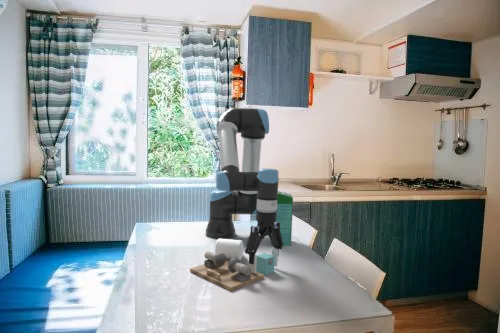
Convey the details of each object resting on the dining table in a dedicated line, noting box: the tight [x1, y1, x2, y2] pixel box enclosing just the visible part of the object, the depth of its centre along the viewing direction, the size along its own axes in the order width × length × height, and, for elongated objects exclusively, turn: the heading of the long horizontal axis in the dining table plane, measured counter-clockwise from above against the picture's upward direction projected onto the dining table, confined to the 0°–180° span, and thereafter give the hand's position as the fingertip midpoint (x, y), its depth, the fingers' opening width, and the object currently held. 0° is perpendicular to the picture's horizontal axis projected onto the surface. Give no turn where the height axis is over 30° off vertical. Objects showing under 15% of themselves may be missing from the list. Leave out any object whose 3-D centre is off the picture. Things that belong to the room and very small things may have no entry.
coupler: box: [256, 252, 275, 276], centre depth 130 cm, size 6×5×6 cm
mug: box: [214, 238, 244, 261], centre depth 144 cm, size 12×10×8 cm
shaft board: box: [189, 251, 265, 292], centre depth 125 cm, size 22×16×7 cm
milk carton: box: [276, 190, 294, 247], centre depth 166 cm, size 9×9×25 cm
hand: (263, 268), depth 129 cm, fingers open, 11 cm apart
